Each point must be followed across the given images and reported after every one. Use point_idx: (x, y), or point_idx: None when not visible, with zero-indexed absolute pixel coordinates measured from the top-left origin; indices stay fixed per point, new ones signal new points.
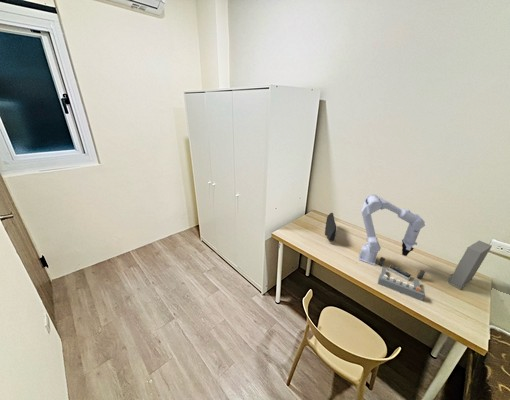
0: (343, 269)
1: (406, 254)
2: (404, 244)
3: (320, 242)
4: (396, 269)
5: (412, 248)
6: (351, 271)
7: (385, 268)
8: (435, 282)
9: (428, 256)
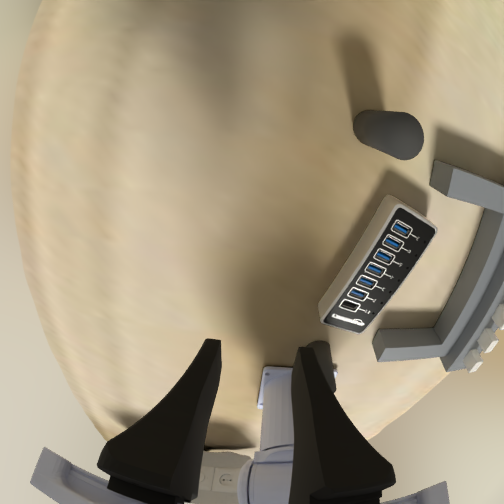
0: (392, 417)
1: (317, 372)
2: (198, 459)
3: None
4: (368, 298)
5: (366, 489)
6: (399, 405)
7: (384, 352)
8: (357, 21)
9: (30, 71)
